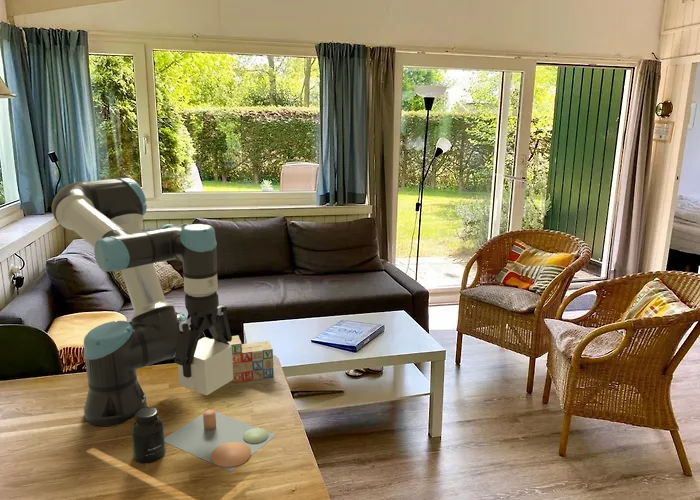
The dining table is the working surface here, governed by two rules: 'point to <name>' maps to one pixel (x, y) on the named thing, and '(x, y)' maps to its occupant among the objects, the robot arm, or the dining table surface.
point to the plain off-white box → (210, 366)
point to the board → (219, 439)
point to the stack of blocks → (251, 360)
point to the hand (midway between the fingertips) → (206, 379)
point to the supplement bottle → (148, 436)
